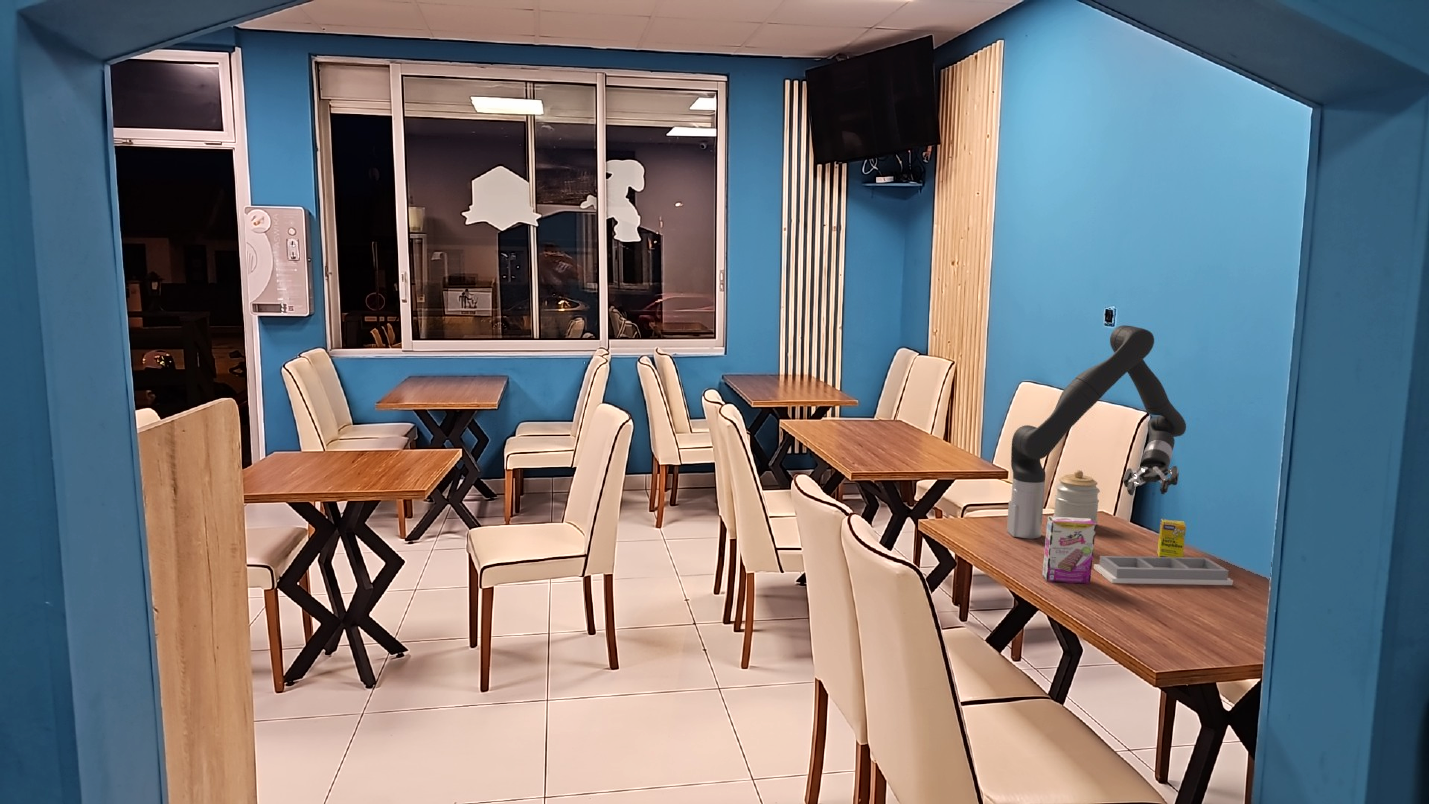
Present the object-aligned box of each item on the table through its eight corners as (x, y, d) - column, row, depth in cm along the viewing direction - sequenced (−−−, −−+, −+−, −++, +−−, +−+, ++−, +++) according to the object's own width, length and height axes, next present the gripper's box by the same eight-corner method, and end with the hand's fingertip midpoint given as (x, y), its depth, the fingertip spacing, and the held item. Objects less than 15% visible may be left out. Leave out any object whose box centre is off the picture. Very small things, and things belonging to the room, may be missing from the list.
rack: (1112, 583, 231) (1113, 569, 230) (1093, 568, 242) (1094, 555, 241) (1232, 585, 231) (1234, 571, 230) (1208, 570, 242) (1210, 557, 241)
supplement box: (1158, 561, 248) (1162, 523, 247) (1156, 555, 254) (1160, 518, 252) (1182, 564, 246) (1186, 526, 245) (1180, 558, 252) (1184, 520, 250)
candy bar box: (1046, 582, 230) (1051, 521, 228) (1041, 575, 235) (1046, 515, 233) (1091, 584, 229) (1096, 523, 227) (1085, 578, 234) (1090, 517, 232)
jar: (1092, 533, 275) (1097, 477, 272) (1048, 525, 282) (1053, 471, 279) (1099, 523, 286) (1104, 469, 283) (1057, 516, 292) (1061, 463, 290)
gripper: (1128, 450, 269) (1116, 483, 258) (1179, 446, 260) (1169, 481, 249) (1134, 469, 272) (1123, 503, 261) (1185, 467, 262) (1176, 502, 252)
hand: (1146, 492), depth 255 cm, fingers open, 8 cm apart
